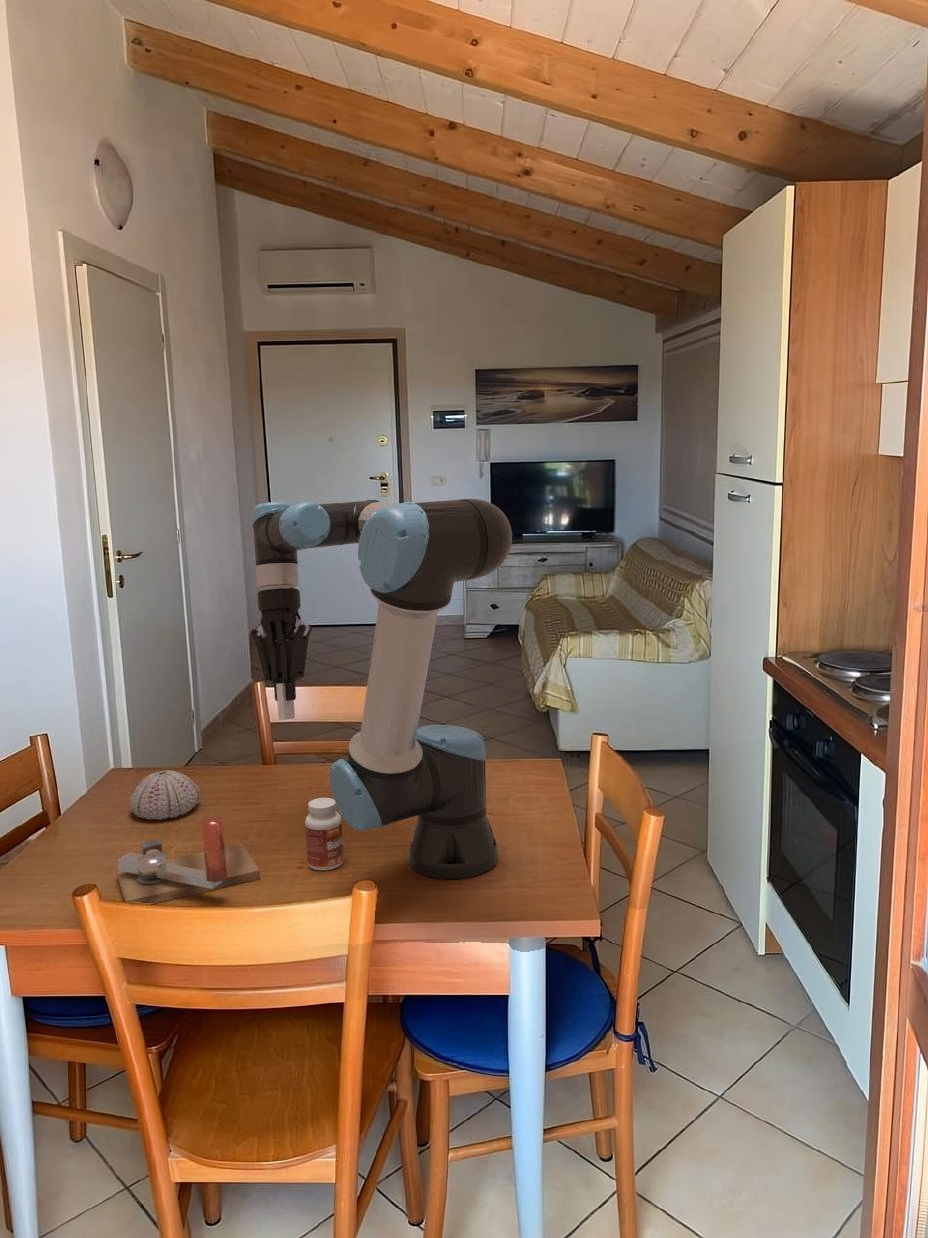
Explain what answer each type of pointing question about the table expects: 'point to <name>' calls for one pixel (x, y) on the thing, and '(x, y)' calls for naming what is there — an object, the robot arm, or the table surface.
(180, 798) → the sea urchin shell
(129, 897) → the cracker base
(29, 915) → the table surface
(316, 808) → the pill bottle
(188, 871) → the lever
